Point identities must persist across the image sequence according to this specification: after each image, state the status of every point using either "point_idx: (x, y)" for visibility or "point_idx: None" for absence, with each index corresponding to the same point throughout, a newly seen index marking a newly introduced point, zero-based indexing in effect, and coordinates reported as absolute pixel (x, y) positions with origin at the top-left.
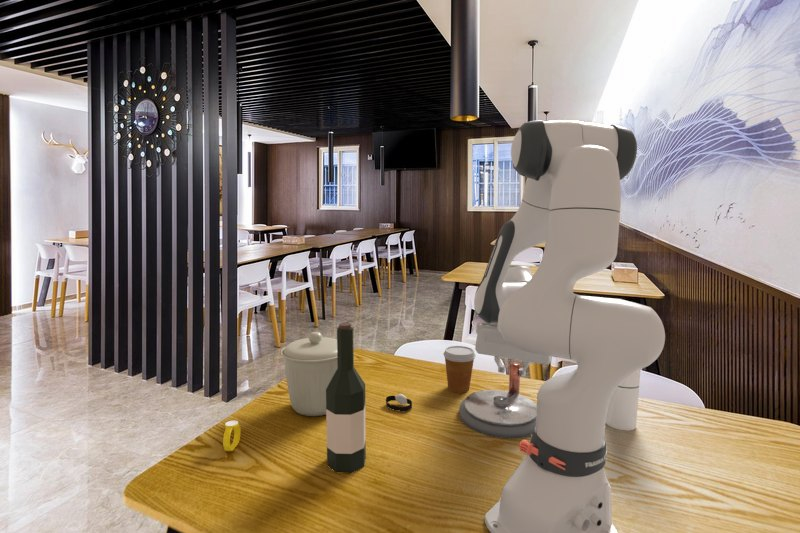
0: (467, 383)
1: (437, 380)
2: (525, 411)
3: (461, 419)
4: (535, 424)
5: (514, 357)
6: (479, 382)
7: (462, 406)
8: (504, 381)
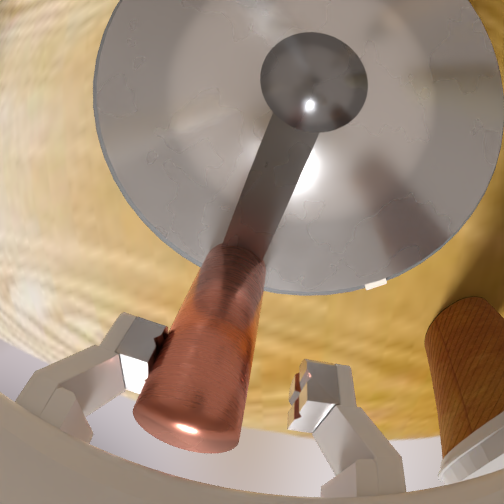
0: (451, 336)
1: None
2: (154, 43)
3: None
4: None
5: (138, 494)
6: (375, 388)
7: None
8: (287, 408)
